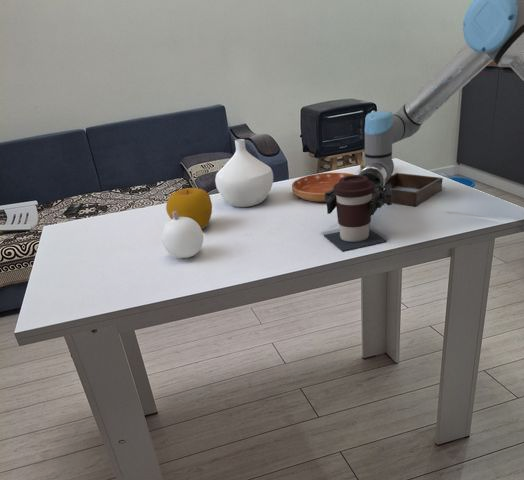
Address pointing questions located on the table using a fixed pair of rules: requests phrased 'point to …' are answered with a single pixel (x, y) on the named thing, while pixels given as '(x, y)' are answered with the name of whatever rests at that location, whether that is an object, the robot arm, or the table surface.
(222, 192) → the vase
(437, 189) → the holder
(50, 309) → the table surface
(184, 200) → the apple
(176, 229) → the ornament
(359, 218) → the coffee cup
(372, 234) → the mat
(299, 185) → the saucer
